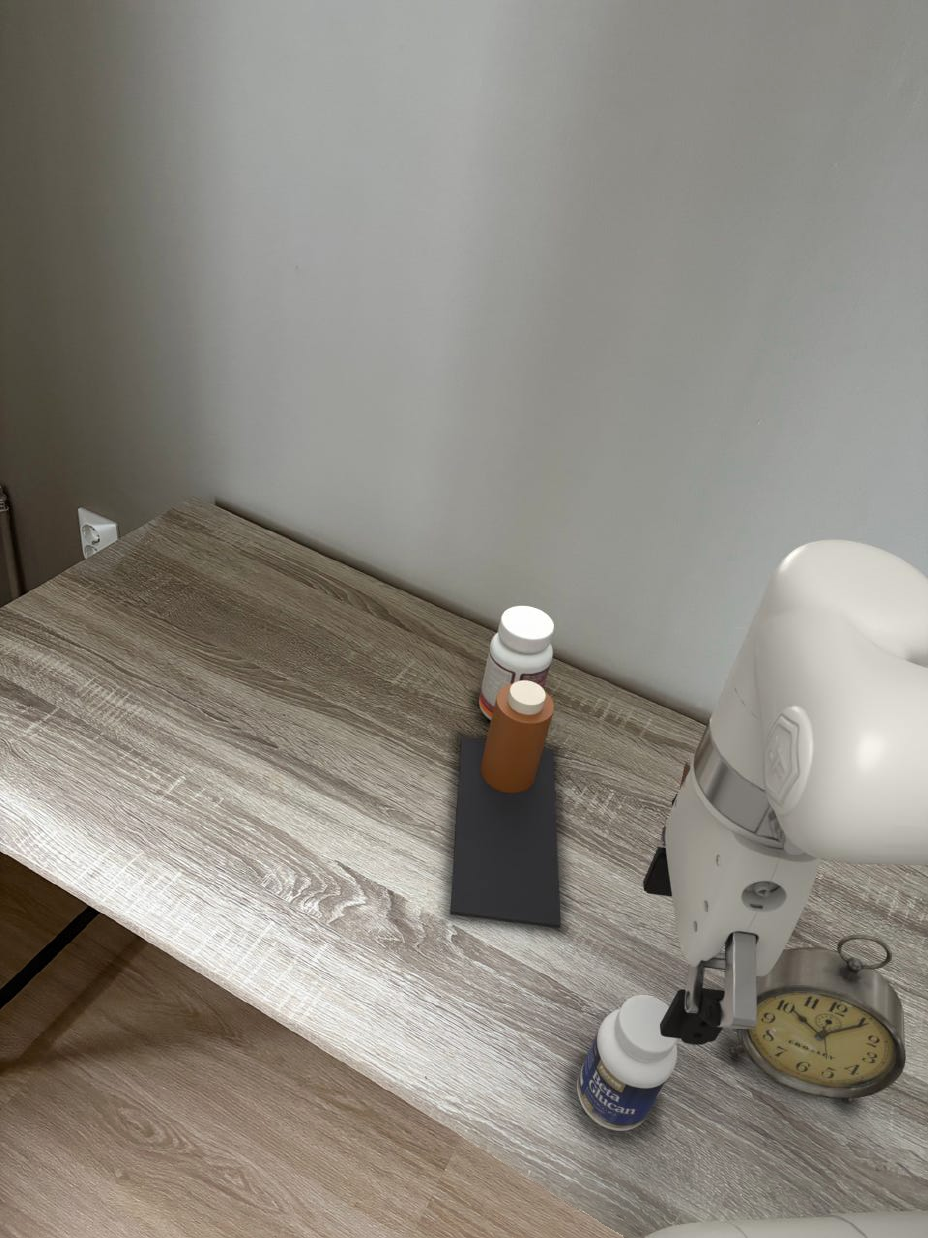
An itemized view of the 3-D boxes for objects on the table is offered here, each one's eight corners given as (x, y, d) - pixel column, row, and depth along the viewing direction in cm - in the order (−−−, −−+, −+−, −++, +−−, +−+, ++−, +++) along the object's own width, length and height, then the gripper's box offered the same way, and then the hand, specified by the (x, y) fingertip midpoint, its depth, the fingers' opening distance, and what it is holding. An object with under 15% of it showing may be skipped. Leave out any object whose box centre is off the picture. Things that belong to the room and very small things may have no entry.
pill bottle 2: (566, 1114, 68) (599, 1041, 62) (585, 1046, 72) (618, 972, 66) (641, 1147, 67) (682, 1076, 61) (656, 1076, 71) (696, 1003, 65)
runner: (559, 928, 80) (560, 925, 79) (450, 914, 79) (450, 911, 79) (552, 752, 96) (553, 749, 95) (461, 739, 95) (461, 736, 95)
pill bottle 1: (540, 695, 102) (563, 610, 95) (533, 736, 97) (556, 648, 90) (483, 682, 102) (501, 595, 95) (472, 721, 97) (491, 633, 90)
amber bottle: (528, 799, 90) (551, 720, 83) (474, 783, 90) (492, 702, 84) (539, 761, 94) (561, 682, 88) (487, 745, 94) (505, 666, 88)
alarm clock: (711, 1065, 72) (788, 937, 62) (722, 1004, 76) (796, 875, 67) (860, 1129, 70) (964, 1007, 60) (863, 1063, 74) (960, 938, 64)
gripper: (895, 929, 43) (762, 1109, 53) (804, 667, 56) (713, 852, 67) (727, 907, 42) (627, 1093, 53) (677, 648, 56) (605, 837, 66)
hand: (675, 958), depth 60 cm, fingers open, 9 cm apart
